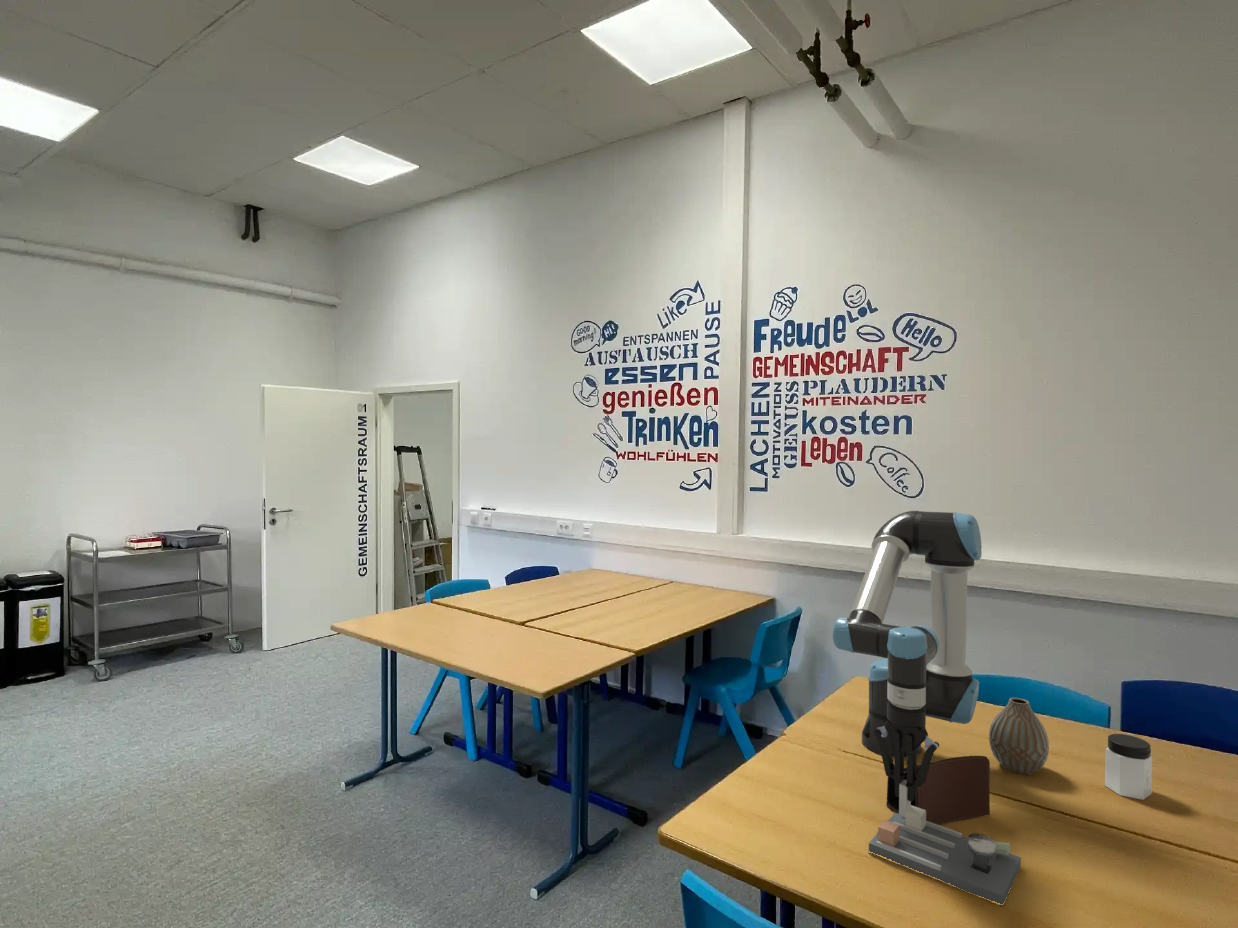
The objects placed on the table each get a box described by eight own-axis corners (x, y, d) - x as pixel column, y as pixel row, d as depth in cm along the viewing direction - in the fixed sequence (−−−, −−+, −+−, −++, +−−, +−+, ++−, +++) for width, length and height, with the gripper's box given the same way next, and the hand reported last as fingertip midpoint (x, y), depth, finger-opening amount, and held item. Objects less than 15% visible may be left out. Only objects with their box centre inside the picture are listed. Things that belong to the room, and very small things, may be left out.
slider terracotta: (878, 842, 135) (878, 826, 135) (884, 834, 138) (884, 819, 138) (893, 848, 133) (893, 832, 133) (899, 840, 136) (899, 824, 136)
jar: (1141, 803, 154) (1142, 751, 154) (1100, 788, 161) (1101, 738, 161) (1156, 792, 159) (1157, 742, 159) (1116, 778, 166) (1117, 730, 166)
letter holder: (990, 815, 149) (991, 753, 149) (917, 830, 143) (918, 765, 143) (955, 793, 159) (956, 734, 158) (885, 806, 153) (886, 745, 152)
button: (964, 864, 127) (965, 840, 127) (971, 853, 131) (971, 830, 131) (991, 874, 124) (992, 850, 124) (997, 863, 128) (998, 839, 128)
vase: (1038, 786, 162) (1039, 715, 161) (980, 767, 171) (981, 699, 171) (1055, 769, 170) (1057, 701, 170) (999, 751, 180) (1000, 687, 180)
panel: (868, 852, 135) (868, 830, 135) (894, 821, 147) (895, 801, 146) (1002, 906, 119) (1003, 881, 119) (1020, 867, 131) (1021, 844, 131)
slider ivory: (905, 826, 140) (905, 811, 140) (911, 819, 143) (911, 805, 143) (920, 832, 138) (920, 817, 138) (925, 825, 141) (926, 810, 141)
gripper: (868, 700, 143) (867, 809, 144) (933, 716, 134) (931, 832, 135) (882, 690, 149) (880, 795, 149) (944, 705, 140) (943, 817, 141)
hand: (904, 813), depth 142 cm, fingers closed
